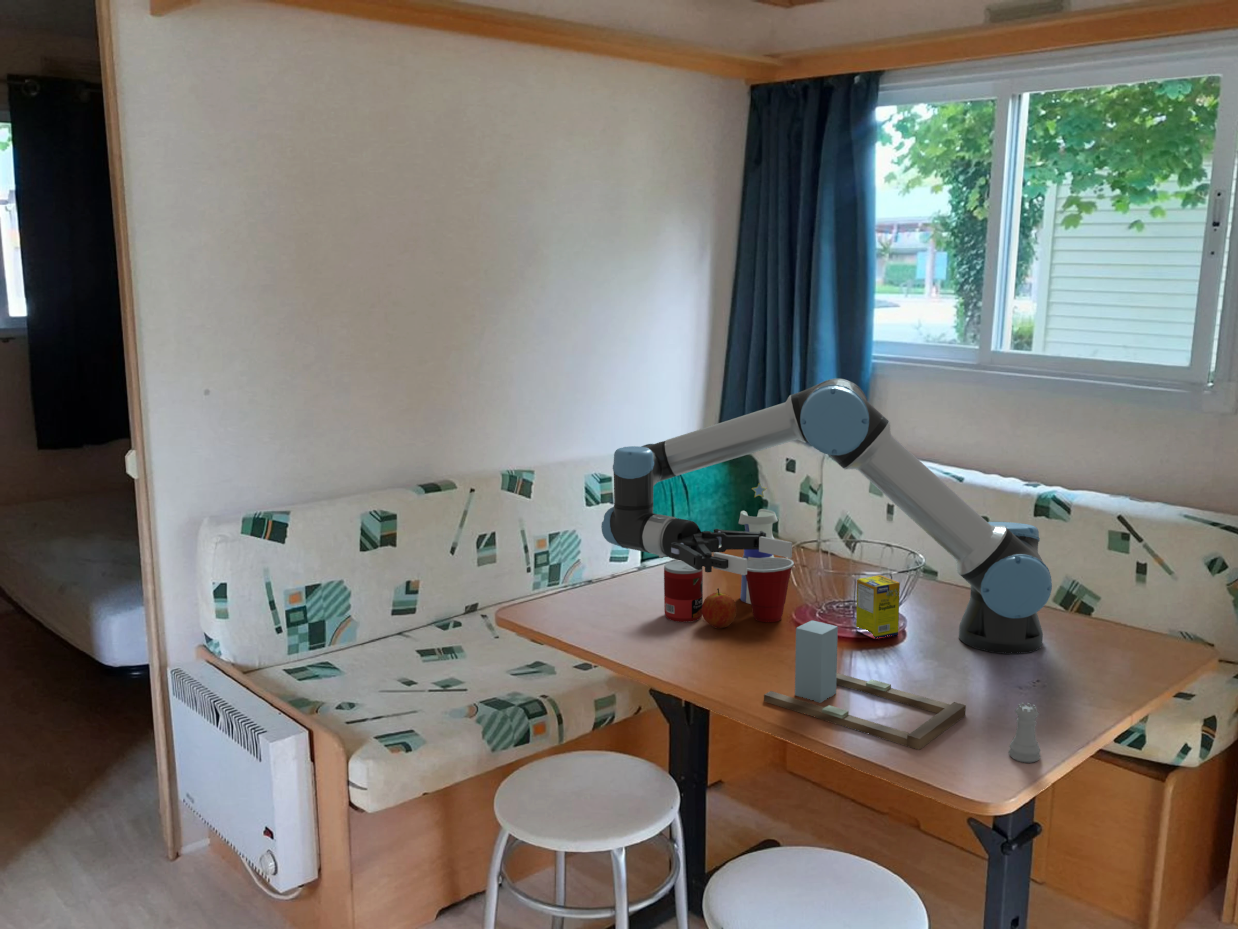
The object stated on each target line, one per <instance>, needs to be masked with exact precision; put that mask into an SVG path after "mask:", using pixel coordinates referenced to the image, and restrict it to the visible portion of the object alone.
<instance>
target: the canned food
mask: <svg viewBox="0 0 1238 929" xmlns="http://www.w3.org/2000/svg"><path fill="white" fill-rule="evenodd" d="M663 566H664V567H663V593H664V594H663V598H664V599H663V600H664V607H663V609H664V615H665V618H666V619H667V620H670V621H672V622H676V623H677V622H678V623H692V622H697V621H699V620H700V619H701V618H702V617H703V615H702V605H703V602H704V600H703V590H704V589H703V586H704V584H703V583H704V582H703V580H704V578H703V576H704V575H703V574H704V573H703V572H704V571H703V570H704V569H703V567H702V569H701V570H697V569H695V568H693V567H691V566H690V565H688V564H686V563H685V562H683V561H681V560H674V561H669V562H667V563H665V564H664V565H663Z"/></svg>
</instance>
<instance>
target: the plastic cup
mask: <svg viewBox="0 0 1238 929" xmlns="http://www.w3.org/2000/svg"><path fill="white" fill-rule="evenodd" d="M794 564H795V563H794V560H792V559H790V558H786V557H775V556H774V557H769V558H757V559H751V560H748V561H747V575H746V579H747V584H748V590H749V596H750V601H751V604H750V605H751V610H752V611H751V612H752V616H753V618H754V620H756V621H759V622H762V623H775V622H779V621H780V620H782V618H783V616H784V609H785V608H784V607H785V605H786V601H787V600H786V599H787V595H788V594H787V593H788V588H789V582H790V578H791V573H792V569H793V567H794Z"/></svg>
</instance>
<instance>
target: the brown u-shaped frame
mask: <svg viewBox="0 0 1238 929" xmlns="http://www.w3.org/2000/svg"><path fill="white" fill-rule="evenodd" d="M837 685H838V686H841V687H843V688H844V687H845V688H848V689H852V690H855V691H859V692H861V691H862V693H866V694H868V693H869V695H872V696H875V695H876V697H879V696H880V698H882V697H883V699H886V700H889V699H890V701H893V702H897V703H901V704H903V705H907V706H911V707H913V708H918V709H921V710H925V711H928V712H931V713H935V715H933V716H932V717H931V718H929V719H928V720H926V721H925V722H924V723H922V724H921V725H920V726H918V727H917V728H916V729H914V730H912V731H911V732H906V731H904V730H900V729H897V728H893V727H890V726H887V725H883V724H881V723H877V722H873V721H871V720H868V719H864V718H862V717H857V716H854V715H851V714H849V713H850V712H849V710H847V709H844V708H840V707H836V706H833V705H830V704H828V705H827V706H821V705H818V704H815V703H811V702H809V701H805V700H802V699H799V698H795V697H792V696H788V695H786V694H782V693H779V692H775V691H773V690H770V691H768V692H766V693H764V695H763V702H765V703H768V704H770V705H771V704H772V705H774V706H778V707H781V708H784V709H787V710H790V711H794V712H797V713H799V714H803V713H805V714H804V715H806V714H808V715H807V716H809V715H811V716H810V717H812V716H815V717H816V719H819V718H820V719H819V720H822V719H823V721H825V720H826V721H825V722H828V721H829V723H831V722H832V723H833V724H835V723H836V724H835V725H838V724H839V725H838V726H841V725H842V726H841V727H844V726H846V727H845V728H847V727H849V728H848V729H851V728H852V729H851V730H854V729H856V730H855V731H857V730H859V731H858V732H860V731H862V732H861V733H863V732H865V733H864V734H866V733H869V734H868V735H870V736H872V737H876V738H879V737H880V738H879V739H882V738H883V739H882V740H886V741H889V740H890V741H889V742H892V741H893V742H892V743H895V742H896V743H895V744H898V743H899V744H898V745H901V744H902V746H906V747H908V746H909V748H911V747H912V748H911V749H914V748H915V750H917V749H918V751H920V750H921V749H923V748H924V747H925V746H927V745H928V744H930V743H931V742H932V741H933V740H935V739H937V738H938V737H939V736H941V735H942V734H943V733H944V732H945V731H947V730H948V729H950V728H951V727H952V726H954V725H955V724H956V723H958V722H959V721H960V720H961V719H963V718H964V717H966V708H967V707H966V706H967V704H963V703H959V702H957V701H956V702H955V701H952V703H947V702H943V701H940V700H937V699H936V700H935V699H932V698H929V697H924V696H922V695H918V694H915V693H910V692H908V691H905V690H900V689H896V688H892V684H890V683H886V682H883V681H880V680H876V679H873V678H872V679H869V680H865V679H860V678H856V677H854V676H853V677H852V676H849V675H846V674H843V673H839V672H837V677H836V686H837ZM815 717H814V718H815ZM922 747H923V748H922Z"/></svg>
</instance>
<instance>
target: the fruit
mask: <svg viewBox="0 0 1238 929" xmlns="http://www.w3.org/2000/svg"><path fill="white" fill-rule="evenodd" d="M716 591H717V592H713V593H711V594H709V595H707V596H706V597H705V598H704V600H703V605H702V618H703V620H704V621H705V622H706V623H707V624H708V625H710V626H711V627H713V628H716V629H724V628H727V627H729V626H730V625H731V624H732V623H733V622H734V620H735V619H736V617H737V605H736V602H735V600H734V599H733V597H731V595H729V594H727V593H722V592H720V588H717V589H716Z"/></svg>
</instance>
